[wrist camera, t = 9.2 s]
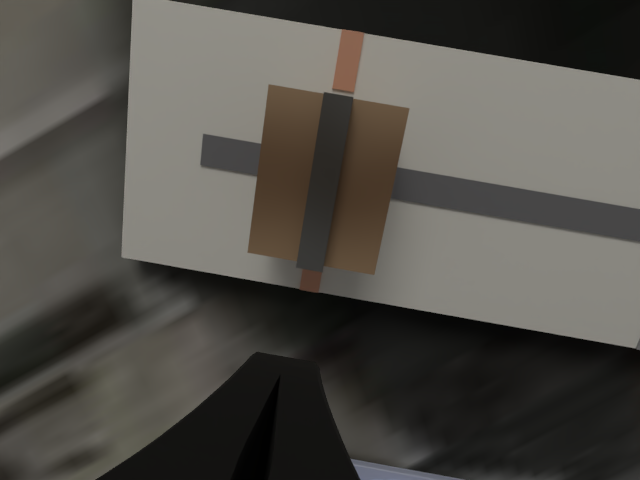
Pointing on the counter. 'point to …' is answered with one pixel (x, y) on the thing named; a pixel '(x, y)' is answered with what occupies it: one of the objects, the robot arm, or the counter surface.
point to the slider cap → (325, 179)
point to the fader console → (412, 171)
